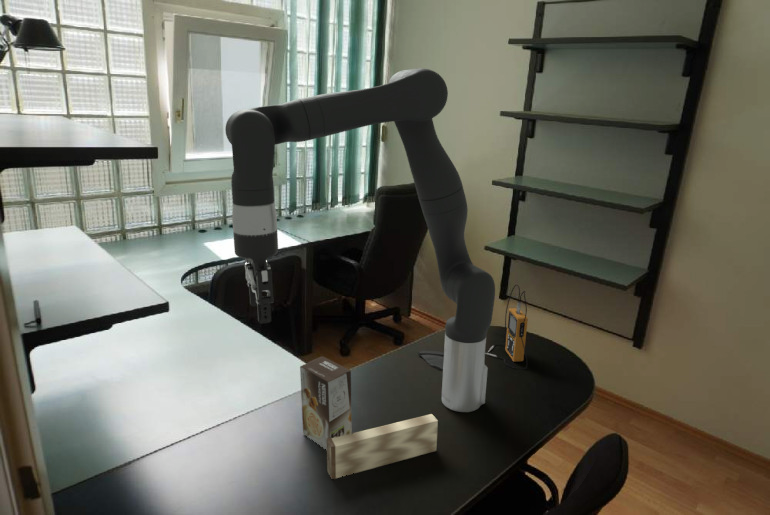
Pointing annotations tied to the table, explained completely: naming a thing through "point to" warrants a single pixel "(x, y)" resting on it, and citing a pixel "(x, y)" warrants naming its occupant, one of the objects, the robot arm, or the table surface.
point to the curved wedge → (433, 358)
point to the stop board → (381, 445)
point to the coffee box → (325, 400)
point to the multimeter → (515, 332)
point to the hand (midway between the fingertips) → (260, 313)
